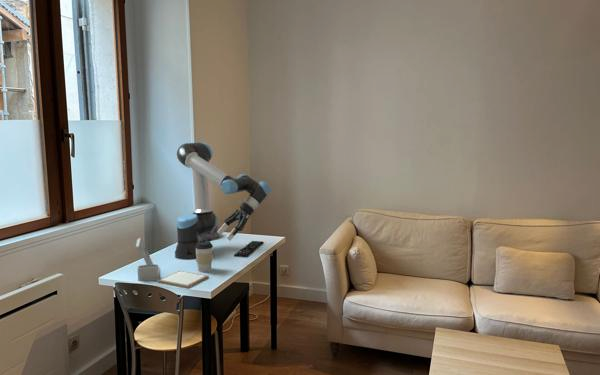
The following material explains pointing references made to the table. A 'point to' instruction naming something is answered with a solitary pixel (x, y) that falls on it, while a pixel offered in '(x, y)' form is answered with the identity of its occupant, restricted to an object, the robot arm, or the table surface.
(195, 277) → the notebook
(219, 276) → the table surface
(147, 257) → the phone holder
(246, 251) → the remote control
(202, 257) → the coffee cup
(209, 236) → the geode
